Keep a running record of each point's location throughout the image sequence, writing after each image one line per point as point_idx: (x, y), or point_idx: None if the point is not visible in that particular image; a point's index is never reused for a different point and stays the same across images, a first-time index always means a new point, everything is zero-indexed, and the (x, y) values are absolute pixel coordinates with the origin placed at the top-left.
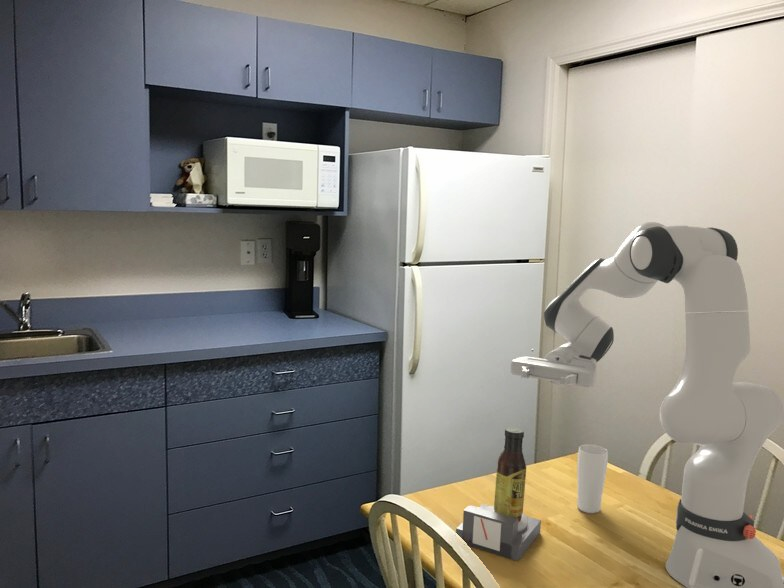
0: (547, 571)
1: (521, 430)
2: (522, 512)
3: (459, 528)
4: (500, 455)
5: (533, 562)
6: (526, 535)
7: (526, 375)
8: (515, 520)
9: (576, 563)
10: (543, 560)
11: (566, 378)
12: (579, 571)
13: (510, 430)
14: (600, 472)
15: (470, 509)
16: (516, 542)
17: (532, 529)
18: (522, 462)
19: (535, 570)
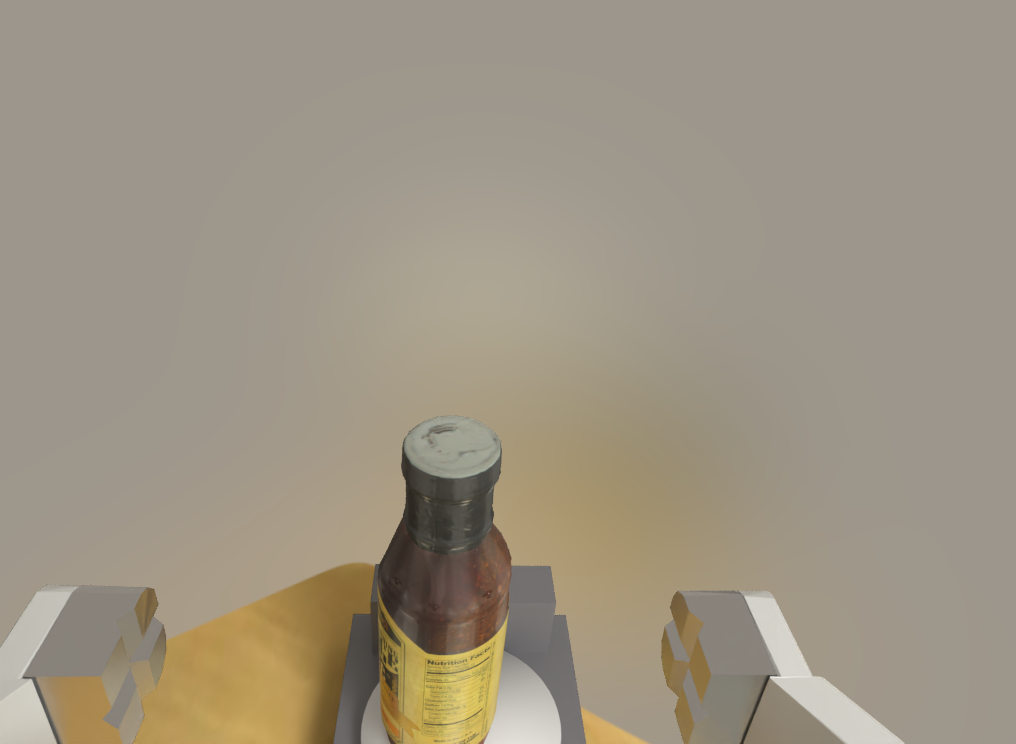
0: (260, 641)
1: (418, 452)
2: (380, 704)
3: (557, 619)
4: (501, 536)
5: (308, 663)
6: (347, 689)
7: (673, 620)
8: (375, 587)
9: (165, 729)
10: (279, 689)
11: (53, 586)
12: (158, 690)
13: (466, 429)
14: None
15: (536, 580)
16: (367, 634)
17: (336, 742)
18: (391, 542)
19: (295, 629)
